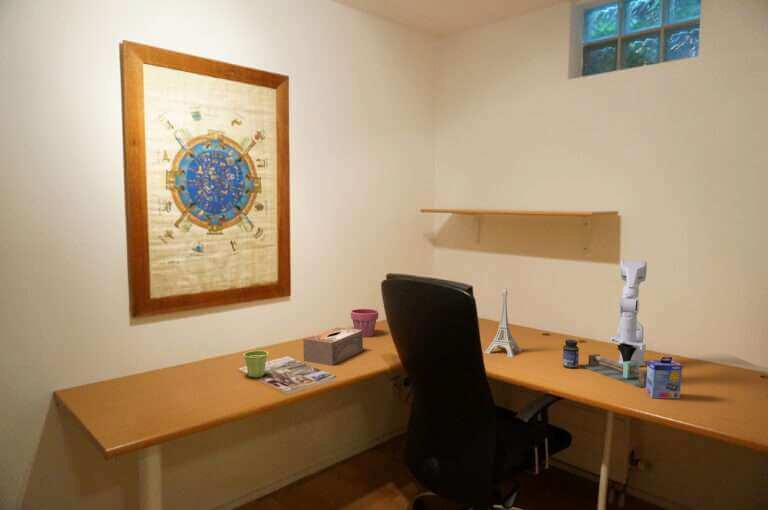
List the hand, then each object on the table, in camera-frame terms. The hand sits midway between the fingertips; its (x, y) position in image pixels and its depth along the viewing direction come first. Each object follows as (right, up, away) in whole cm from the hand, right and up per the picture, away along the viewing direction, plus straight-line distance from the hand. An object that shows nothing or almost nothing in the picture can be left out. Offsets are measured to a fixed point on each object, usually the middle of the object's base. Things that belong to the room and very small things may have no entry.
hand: (626, 363), depth 198 cm
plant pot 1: (-144, -5, +2) cm, 144 cm away
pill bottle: (-16, -5, +14) cm, 22 cm away
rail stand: (-2, -5, +4) cm, 7 cm away
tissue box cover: (-116, -3, +29) cm, 120 cm away
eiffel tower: (-39, -3, +37) cm, 54 cm away
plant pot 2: (-104, 0, +67) cm, 124 cm away
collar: (+1, -5, -1) cm, 5 cm away
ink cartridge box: (+4, -8, -19) cm, 21 cm away
